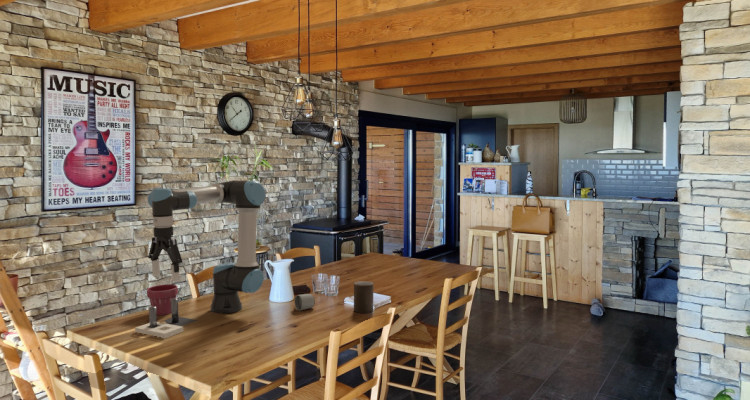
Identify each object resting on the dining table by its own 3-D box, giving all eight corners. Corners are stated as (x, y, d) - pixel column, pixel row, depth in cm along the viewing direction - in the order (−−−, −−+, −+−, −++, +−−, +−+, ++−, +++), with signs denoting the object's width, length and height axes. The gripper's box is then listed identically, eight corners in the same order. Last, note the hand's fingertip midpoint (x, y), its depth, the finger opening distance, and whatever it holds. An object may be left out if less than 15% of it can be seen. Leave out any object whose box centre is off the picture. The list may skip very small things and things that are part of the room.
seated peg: (154, 330, 233) (153, 305, 232) (158, 331, 232) (157, 306, 231) (148, 332, 230) (147, 307, 230) (153, 333, 229) (152, 308, 228)
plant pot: (143, 313, 259) (141, 287, 258) (171, 307, 269) (170, 282, 268) (155, 319, 249) (154, 292, 248) (183, 313, 259) (182, 287, 258)
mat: (176, 317, 252) (176, 316, 252) (198, 320, 246) (198, 320, 246) (152, 325, 240) (152, 324, 240) (174, 329, 234) (174, 328, 234)
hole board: (154, 326, 238) (154, 321, 238) (183, 332, 230) (183, 326, 230) (135, 333, 229) (134, 327, 229) (164, 339, 221) (164, 333, 221)
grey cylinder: (316, 308, 264) (315, 293, 264) (302, 312, 259) (301, 296, 258) (304, 304, 272) (304, 290, 272) (291, 307, 267) (290, 292, 267)
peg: (175, 320, 245) (174, 297, 244) (180, 321, 244) (179, 298, 243) (170, 322, 242) (169, 299, 242) (175, 323, 241) (174, 299, 240)
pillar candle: (361, 314, 254) (361, 283, 253) (349, 309, 262) (350, 279, 261) (377, 311, 260) (377, 281, 259) (365, 306, 268) (366, 277, 267)
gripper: (137, 225, 218) (140, 275, 220) (173, 229, 204) (175, 283, 206) (154, 223, 224) (156, 272, 226) (189, 227, 210) (192, 280, 212)
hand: (165, 278), depth 216 cm, fingers open, 13 cm apart
